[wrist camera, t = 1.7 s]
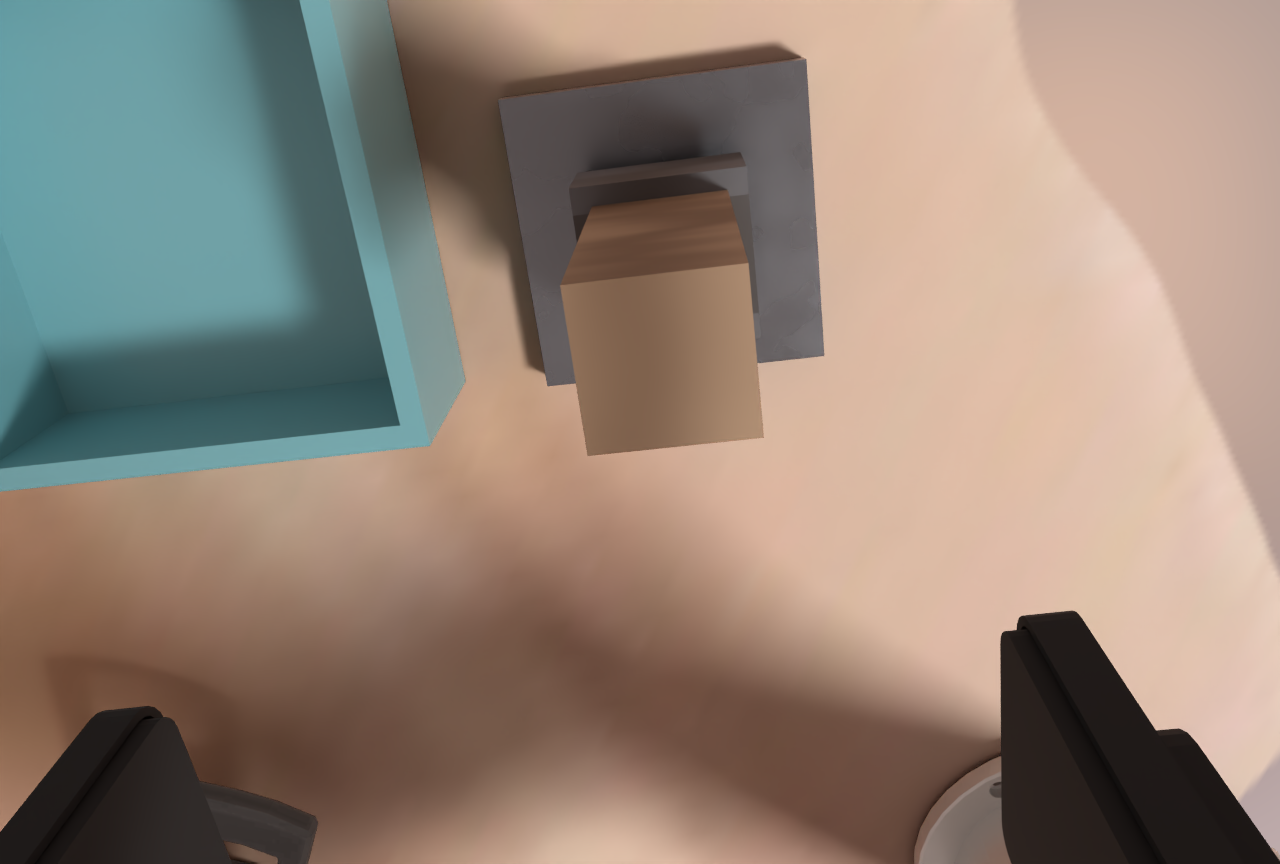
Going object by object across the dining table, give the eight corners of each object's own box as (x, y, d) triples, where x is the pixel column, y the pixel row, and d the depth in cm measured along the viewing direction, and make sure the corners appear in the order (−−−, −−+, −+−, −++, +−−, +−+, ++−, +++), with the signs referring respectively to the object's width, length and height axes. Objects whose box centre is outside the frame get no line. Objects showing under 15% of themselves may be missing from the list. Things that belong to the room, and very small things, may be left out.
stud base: (802, 57, 33) (825, 67, 28) (820, 347, 37) (843, 401, 32) (502, 97, 34) (472, 114, 29) (550, 376, 38) (531, 434, 33)
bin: (370, -81, 32) (306, -99, 26) (465, 381, 38) (429, 445, 32) (-93, -13, 33) (-246, -16, 28) (70, 425, 39) (-29, 494, 34)
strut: (740, 151, 32) (774, 231, 21) (754, 310, 34) (792, 458, 23) (577, 172, 32) (527, 261, 21) (600, 328, 34) (565, 482, 23)
